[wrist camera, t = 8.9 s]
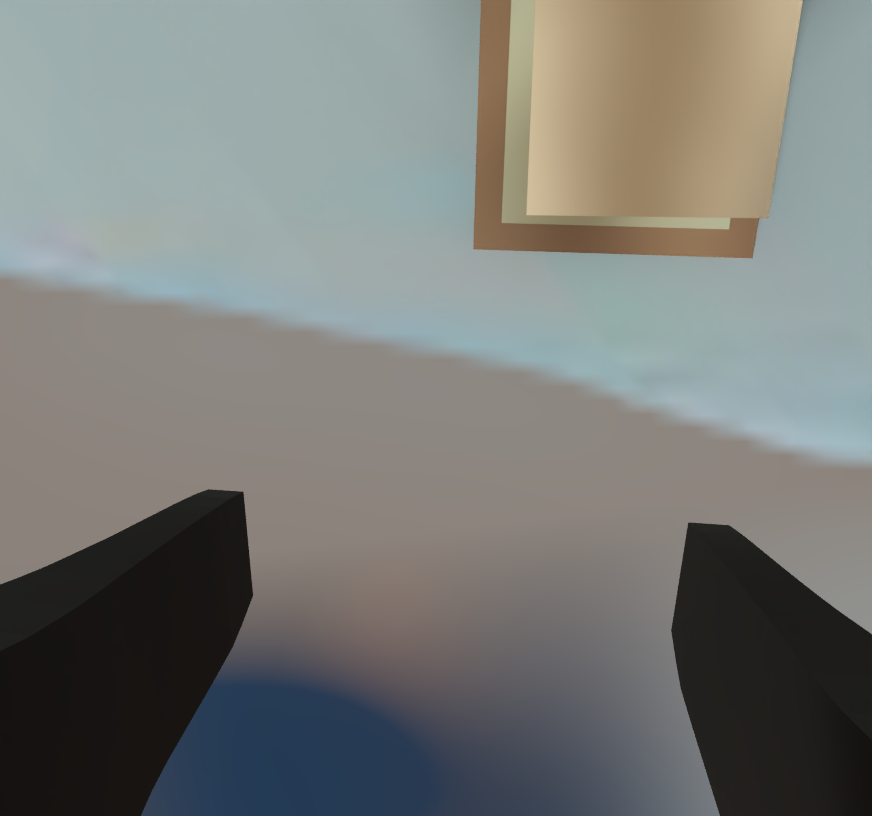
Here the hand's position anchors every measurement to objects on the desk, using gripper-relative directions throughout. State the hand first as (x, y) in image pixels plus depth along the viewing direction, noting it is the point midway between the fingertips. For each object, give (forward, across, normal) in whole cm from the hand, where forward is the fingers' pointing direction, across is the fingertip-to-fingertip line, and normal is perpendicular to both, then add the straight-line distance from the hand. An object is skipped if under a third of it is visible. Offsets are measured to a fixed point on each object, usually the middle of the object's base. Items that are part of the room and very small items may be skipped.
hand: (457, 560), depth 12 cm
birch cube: (+9, -3, -7) cm, 12 cm away
